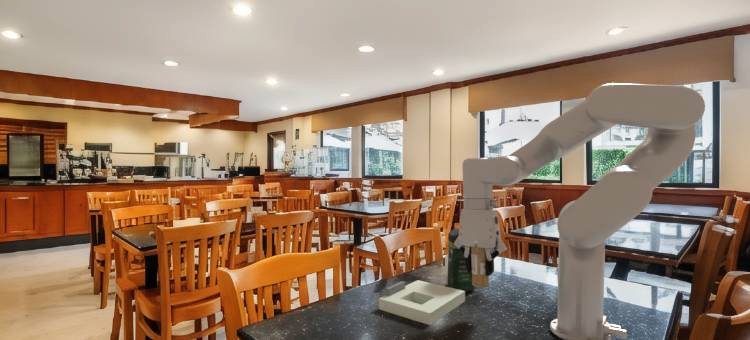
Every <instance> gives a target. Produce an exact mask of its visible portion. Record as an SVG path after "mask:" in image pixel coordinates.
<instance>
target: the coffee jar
mask: <svg viewBox="0 0 750 340" xmlns="http://www.w3.org/2000/svg"><path fill="white" fill-rule="evenodd" d="M447 235H448V236H447V237H448V239H447V246H448V247H447V248H448V249H447V251H448V253H447V254H448V255H447V257H448V258H447V285H448V287H450V288H454V289H458V290H462V291H465V293H467V292H473V291H474V290H475V286H473V285H472V272H471V273H468V272H467V268H466V258H465V257H464V254H463V253H462V252H461V251H460V249H459V248H457V247H456V246H455V245H454V242H455V240H456V239H457V237H458V236H459V228H452V229H451V230H450V231H449V232H448V234H447Z"/></svg>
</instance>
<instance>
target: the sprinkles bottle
mask: <svg viewBox="0 0 750 340" xmlns="http://www.w3.org/2000/svg"><path fill="white" fill-rule="evenodd" d="M473 243H478V242H477V241H474V242H473ZM474 245H475V246H474V247H471V266H472V285H473V286H475V287H476V288H487V287H489V286H490V281H489V277H490V276H486V268H485V261H486V260H487V256H486V251H485V249H483V248H480V247H478V246H477V245H478V244H474ZM475 287H474V288H475Z"/></svg>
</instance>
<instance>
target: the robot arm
mask: <svg viewBox="0 0 750 340" xmlns="http://www.w3.org/2000/svg"><path fill="white" fill-rule="evenodd" d="M705 111H706V103H705V100H704V97H703V96H702V95H701V94H700V93H699V91H697V90H695V89H693V88H691V87H687V86H682V85H672V84H671V85H670V84H669V85H668V84H646V83H645V84H643V83H642V84H641V83H617V82H615V83H614V82H612V83H605V84H601V85H599V86H597V87H596V88H594V89H593V90H592V91H591V92H590V93H589V94H588V97H587V98H585V99H584V100H582V101H581V102H579V103H578V104H576V105H575V106H573V107H572V108H570V109H568V110H567V111H566V112H564V113H563V114H561V115H559V116H558V117H556V118H555V119H553V120H551V121H550V122H549V123H547V124H546V125H544V127H542V129H541V130H540V132H538V134H537V135H536V136H535V137H534V138H533V139H531V140H530V141H528V142H527V143H526V144H524V145H523V146H521V147H519V148H518V149H516V150H515V151H514V152H511V153H509V155H500V156H497V157H490V158H489V157H469V158H468V157H467V158H465V159H464V160H463V161H462V191H463V192H462V195H463V198H462V199H463V209H461V211H460V217H459V226H458V229H459V236H458V237H457V239H456V240H455V242H454V245H455V246H456V247H457V248H459V249H460V251H461V252H462V253H463V254H464V257H465V258H466V268H467V272H468V273H471V272H472V266H471V247H474V246H475V245H474V244H478V245H477V246H478V247H480V248H483V249H485V251H486V256H487V260H486V261H485V268H486V276H489V277H490V275H493V273H494V271H495V259H496V258H497V257H498V256H499V255H500V254H501V253H503V252H505V251H507V250H508V247H507V246H506V244H505V243H504V241H503V240H502V239H501V238H502V237H501V236H502V235H501V228H500V227H501V225H500V221H499V216H498V212H497V209H495V206H496V207H498V205H499V201H498V200H495V199H494V195H493V194H494V193H493V185H494V186H500V187H508V186H512V185H514V184H515V185H516V184H518V183H520V182H521V181H523V180H524V179H526V178H527V177H529V176H531V175H533V174H534V173H536V172H538V171H539V170H542V169H543V168H545V167H546V166H547V165H549V164H551V163H553V162H554V161H557V160H559V159H561V158H563V157H565V156H567V155H568V154H570V153H572V152H573V151H575V150H577V149H578V148H580V147H582V146H583V145H585V144H587V143H588V142H590V141H591V140H593V139H595V138H597V137H598V136H600V135H602V134H603V133H605V132H606V131H608V130H610V129H612V128H613V127H615V126H617V125H618V126H629V127H636V128H637V127H638V128H647V134H646V135H645V138H644V139H643V141H642V142H641V143H640V144H638V146H636V148H634V149H633V150H632V151H631V152H630V153H628V154H627V156H625V157H624V158H623V159H622V160H620V161H619V162H618V163H617V164H615V166H613V167H612V168H610V169H609V170H607V171H605V172H604V173H603V174H602V175H601V176H600V177H599V178H598V180H597V182H596V183H595V184H593V185H592V186H591V187H590V188H589V189H587V190H586V191H585V192H584V193H582V195H581V196H579V197H578V198H577V199H575V200H573V201H569V202H568V203H566V204H565V205H564V206H563V207H562V209H561V210H560V212H559V214H558V218H557V222H556V223H557V224H556V225H557V227H556V228H557V232H558V264H557V265H558V267H557V269H558V271H557V275H558V276H557V318H555V319H553V320H551V321H550V324H549V325H550V326H549V327H550V331H551V332H552V333H553V334H554V335H556V337H558V338H560V339H562V340H612V337H616V338H618V339H622V340H626V339H627V330H626V329H622V326H621V325H618V324H613V323H610V322H609V321H607V316H606V315H604V300H605V299H604V297H605V296H604V295H605V291H604V290H605V264H606V263H605V261H606V260H605V259H606V248H605V247H606V240H608V239H609V238H610V237H612V236H613V235H614V234H615V233H617V232H618V231H619V230H620V229H622V228H623V227H624V226H626V225H627V224H628V223H630V222H631V221H632V220H634V219H635V218H637V216H638V215H640V214H641V213H643V211H644V210H645V209H646V208H647V207H648V206H649V204H650V202H651V200H652V198H653V191H654V190H655V189H656V188H657V187H659V186H660V185H661V184H662V183H663V182H664V181H665V180H666V179H668V178H669V177H670V176H671V175H673V173H675V172H676V171H677V170H678V169H680V167H681V166H682V165H684V163H685V162H686V161H687V159H688V158H689V157H690V155H691V153H692V152H693V149H694V147H695V142H696V124H697V123H699V121H700V120H702V117H703V116H704V113H705ZM474 241H477V242H478V243H473V242H474ZM496 247H498V248H497V249H496V250H495V248H496Z"/></svg>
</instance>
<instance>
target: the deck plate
mask: <svg viewBox="0 0 750 340" xmlns="http://www.w3.org/2000/svg"><path fill="white" fill-rule="evenodd" d="M465 302H466V292H465V291H462V290H458V289H454V288H450V287H449V286H445V285H440V284H435V283H432V282H428V281H425V280H424V281H423V280H419V279H417V280H415V281H413V282H411V283H408V284H407V285H406V281H405V280H404V281H403V280H402V281H399V282H396V283H395V284H393V285H390V286H388V287H386V288H385V295H383V296H381V297H380V298H378V310H381V311H383V312H386V313H390V314H393V315H396V316H399V317H402V318H406V319H409V320H412V321H414V322H418V323H421V324H425V325H429V326H432V325H433V324H434V323H435V322H437V321H439V320H440V319H442V318H443V317H444V316H446V315H448V313H450V312H451V311H453V310H454V309H456V308H457V307H458V306H461V305H462V304H463V303H465Z"/></svg>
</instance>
